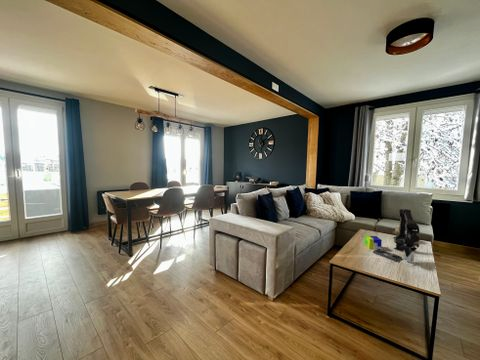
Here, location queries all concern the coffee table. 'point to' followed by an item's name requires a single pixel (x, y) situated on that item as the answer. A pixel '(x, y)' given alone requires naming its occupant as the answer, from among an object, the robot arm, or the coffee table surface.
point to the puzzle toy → (373, 242)
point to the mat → (408, 262)
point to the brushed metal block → (410, 257)
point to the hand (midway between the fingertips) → (408, 256)
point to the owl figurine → (398, 231)
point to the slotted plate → (388, 256)
